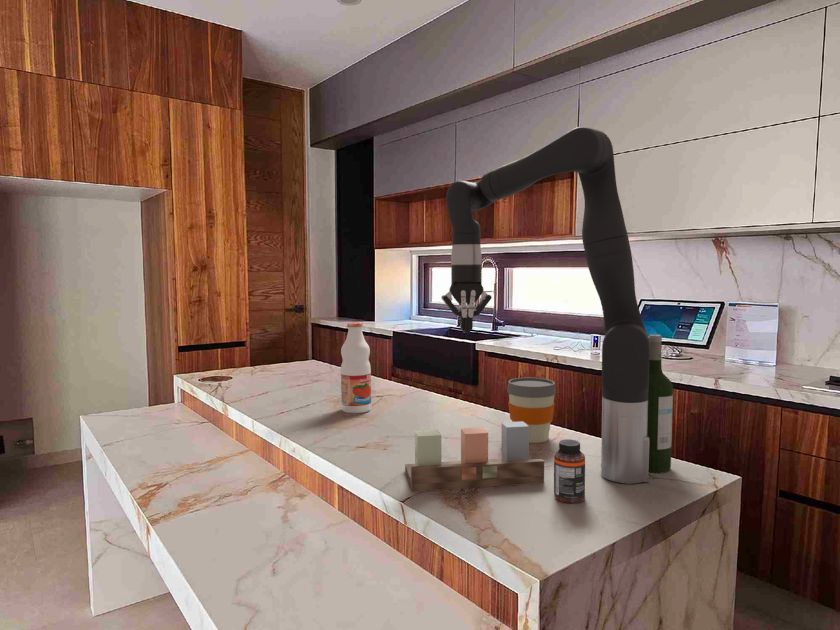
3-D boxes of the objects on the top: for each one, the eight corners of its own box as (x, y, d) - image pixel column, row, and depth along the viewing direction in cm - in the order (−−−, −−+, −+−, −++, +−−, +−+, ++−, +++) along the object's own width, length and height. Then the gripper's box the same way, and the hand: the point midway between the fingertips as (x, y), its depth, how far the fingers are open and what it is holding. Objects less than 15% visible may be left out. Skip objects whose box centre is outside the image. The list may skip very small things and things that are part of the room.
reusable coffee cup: (555, 446, 145) (556, 387, 144) (505, 443, 148) (506, 386, 146) (554, 432, 157) (555, 378, 156) (508, 429, 160) (508, 376, 159)
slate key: (522, 460, 130) (523, 421, 129) (528, 466, 126) (529, 426, 125) (501, 461, 129) (501, 422, 128) (506, 467, 125) (506, 427, 124)
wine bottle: (639, 459, 135) (642, 332, 132) (675, 466, 130) (679, 334, 127) (627, 468, 129) (630, 335, 126) (664, 476, 124) (668, 338, 121)
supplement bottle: (561, 489, 117) (562, 435, 116) (589, 497, 113) (590, 441, 112) (548, 499, 112) (548, 442, 112) (577, 507, 109) (577, 448, 108)
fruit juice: (353, 405, 190) (351, 321, 187) (377, 408, 185) (375, 322, 183) (335, 411, 182) (333, 323, 179) (360, 415, 177) (358, 325, 175)
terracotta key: (483, 467, 125) (483, 427, 124) (488, 474, 121) (488, 432, 120) (460, 469, 125) (460, 428, 124) (465, 475, 121) (464, 434, 120)
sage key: (438, 470, 124) (437, 429, 123) (441, 477, 120) (441, 435, 119) (415, 471, 123) (414, 430, 122) (417, 478, 119) (417, 436, 118)
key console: (525, 463, 133) (525, 443, 132) (544, 483, 121) (544, 461, 120) (405, 470, 129) (405, 450, 128) (412, 491, 117) (412, 469, 116)
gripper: (442, 263, 138) (443, 334, 140) (496, 262, 140) (496, 333, 142) (437, 263, 146) (438, 331, 147) (488, 263, 148) (488, 330, 149)
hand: (466, 332), depth 145 cm, fingers closed
